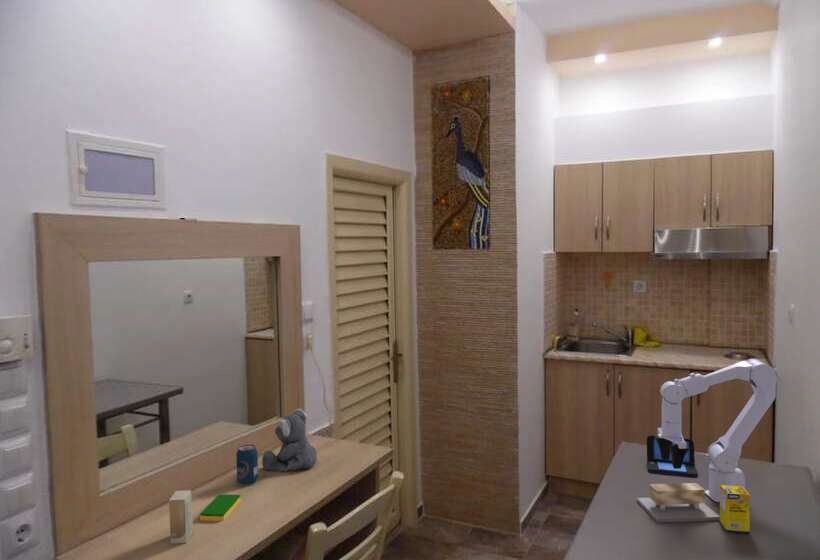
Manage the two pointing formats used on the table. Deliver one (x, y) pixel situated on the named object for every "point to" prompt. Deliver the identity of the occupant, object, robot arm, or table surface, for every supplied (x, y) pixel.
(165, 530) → the table surface
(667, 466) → the handheld game console
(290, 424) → the koala plush
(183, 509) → the skincare box
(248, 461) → the soda can
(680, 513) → the peg stand
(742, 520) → the supplement box
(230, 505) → the dish sponge
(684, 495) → the shelf board
